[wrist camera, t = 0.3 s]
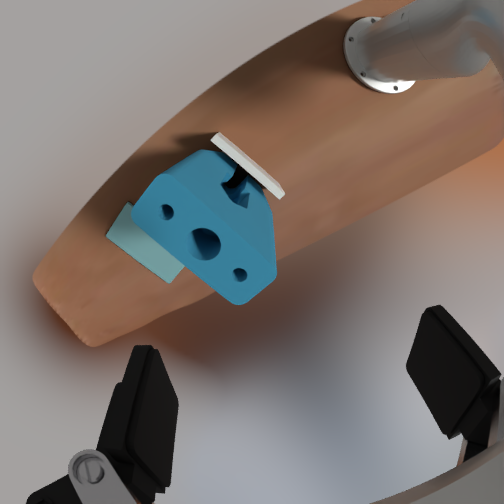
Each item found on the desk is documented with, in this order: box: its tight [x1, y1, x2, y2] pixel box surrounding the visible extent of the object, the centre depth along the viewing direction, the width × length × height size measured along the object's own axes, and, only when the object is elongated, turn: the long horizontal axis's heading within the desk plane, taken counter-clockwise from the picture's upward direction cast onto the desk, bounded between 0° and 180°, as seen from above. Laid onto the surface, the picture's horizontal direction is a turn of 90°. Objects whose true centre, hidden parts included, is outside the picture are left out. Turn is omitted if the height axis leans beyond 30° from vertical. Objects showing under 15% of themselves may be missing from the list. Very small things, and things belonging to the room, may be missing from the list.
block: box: [131, 150, 277, 305], centre depth 31 cm, size 12×5×20 cm, turn 46°
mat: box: [106, 202, 184, 284], centre depth 43 cm, size 7×13×1 cm, turn 48°
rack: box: [210, 132, 285, 200], centre depth 38 cm, size 16×11×6 cm
